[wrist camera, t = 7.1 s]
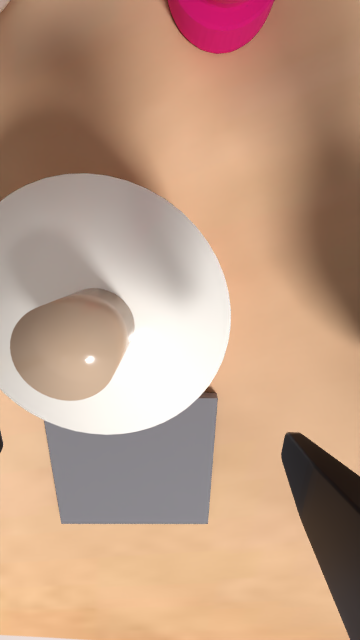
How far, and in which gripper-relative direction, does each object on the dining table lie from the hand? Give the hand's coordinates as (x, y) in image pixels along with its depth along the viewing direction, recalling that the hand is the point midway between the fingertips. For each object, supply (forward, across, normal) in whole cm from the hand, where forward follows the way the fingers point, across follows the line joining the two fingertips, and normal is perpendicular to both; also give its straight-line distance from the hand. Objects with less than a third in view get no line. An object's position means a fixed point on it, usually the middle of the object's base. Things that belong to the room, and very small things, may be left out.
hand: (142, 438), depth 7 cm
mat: (+12, +3, +14) cm, 18 cm away
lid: (+6, +3, -2) cm, 7 cm away
